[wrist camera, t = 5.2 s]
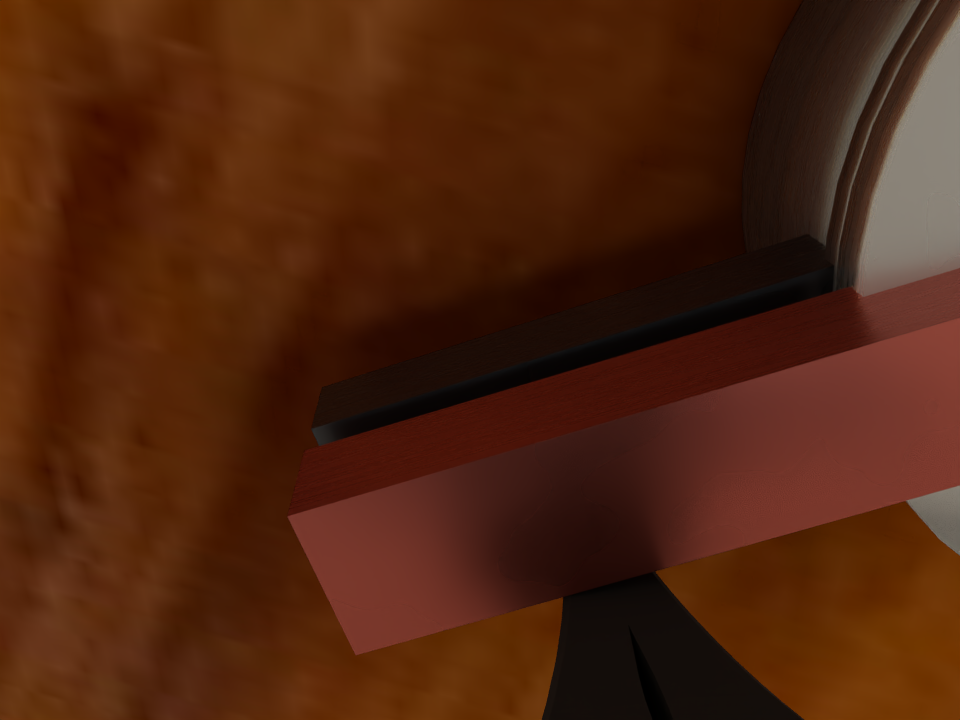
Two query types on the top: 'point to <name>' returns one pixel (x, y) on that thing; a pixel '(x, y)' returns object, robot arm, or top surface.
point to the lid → (679, 421)
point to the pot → (713, 288)
